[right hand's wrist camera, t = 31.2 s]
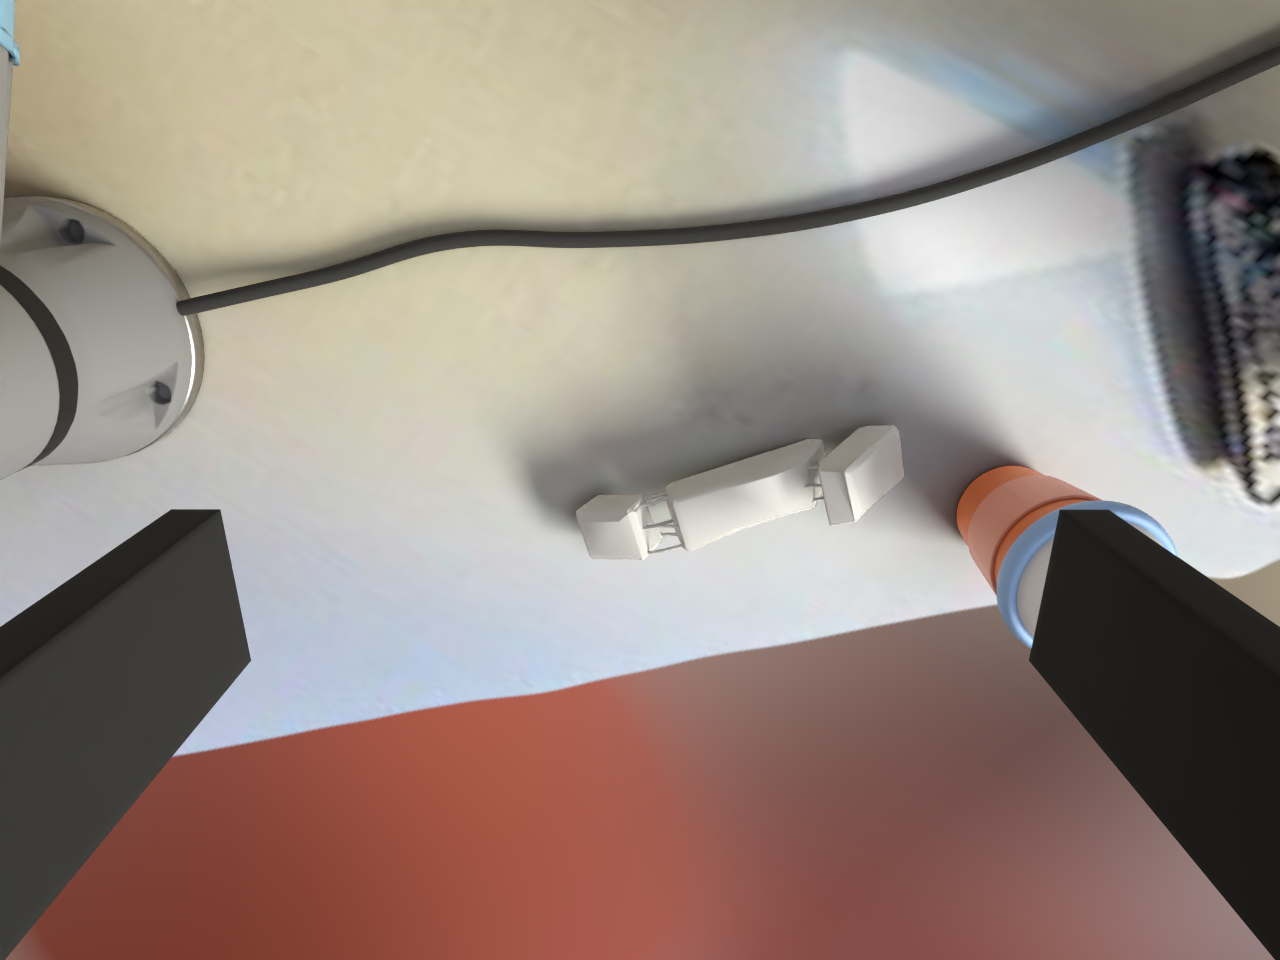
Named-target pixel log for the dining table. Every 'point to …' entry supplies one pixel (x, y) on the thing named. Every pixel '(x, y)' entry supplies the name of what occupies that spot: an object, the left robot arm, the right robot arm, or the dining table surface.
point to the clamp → (750, 495)
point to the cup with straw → (1027, 535)
